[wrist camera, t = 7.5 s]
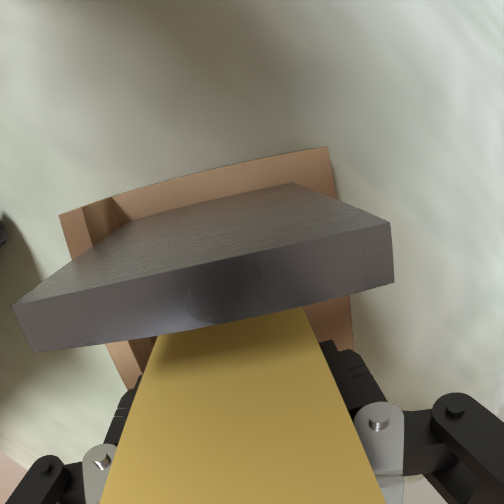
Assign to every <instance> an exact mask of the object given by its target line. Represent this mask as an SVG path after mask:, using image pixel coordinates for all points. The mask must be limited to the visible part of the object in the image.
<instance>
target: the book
mask: <svg viewBox="0 0 504 504" xmlns="http://www.w3.org/2000/svg"><path fill="white" fill-rule="evenodd" d="M99 504H386V502H385V499H384V497H383V494H382V492H381V490H380V487H379V485H378V482H377V480H376V477H375V475H374V472H373V470H372V467H371V465H370V463H369V460H368V458H367V455H366V453H365V451H364V448H363V446H362V443H361V441H360V439H359V436H358V434H357V431H356V429H355V427H354V424H353V422H352V420H351V417H350V415H349V413H348V410H347V408H346V406H345V403H344V401H343V399H342V396H341V394H340V392H339V389H338V387H337V385H336V382H335V380H334V378H333V376H332V373H331V371H330V369H329V366H328V364H327V362H326V360H325V357H324V355H323V353H322V350H321V348H320V346H319V344H318V341H317V339H316V337H315V335H314V332H313V330H312V328H311V326H310V323H309V321H308V319H307V317H306V315H305V312H304V310H303V308H302V306H301V307H297V308H293V309H289V310H284V311H280V312H275V313H271V314H266V315H262V316H257V317H253V318H248V319H243V320H238V321H233V322H228V323H223V324H218V325H213V326H208V327H203V328H197V329H192V330H187V331H181V332H175V333H170V334H164V335H158V337H157V340H156V342H155V345H154V348H153V350H152V353H151V355H150V358H149V360H148V363H147V366H146V368H145V371H144V374H143V376H142V379H141V382H140V384H139V387H138V390H137V392H136V395H135V398H134V401H133V403H132V406H131V409H130V412H129V415H128V417H127V420H126V423H125V426H124V429H123V432H122V435H121V438H120V440H119V443H118V446H117V449H116V452H115V455H114V458H113V461H112V465H111V468H110V471H109V474H108V477H107V480H106V483H105V487H104V490H103V493H102V496H101V500H100V503H99Z"/></svg>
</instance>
